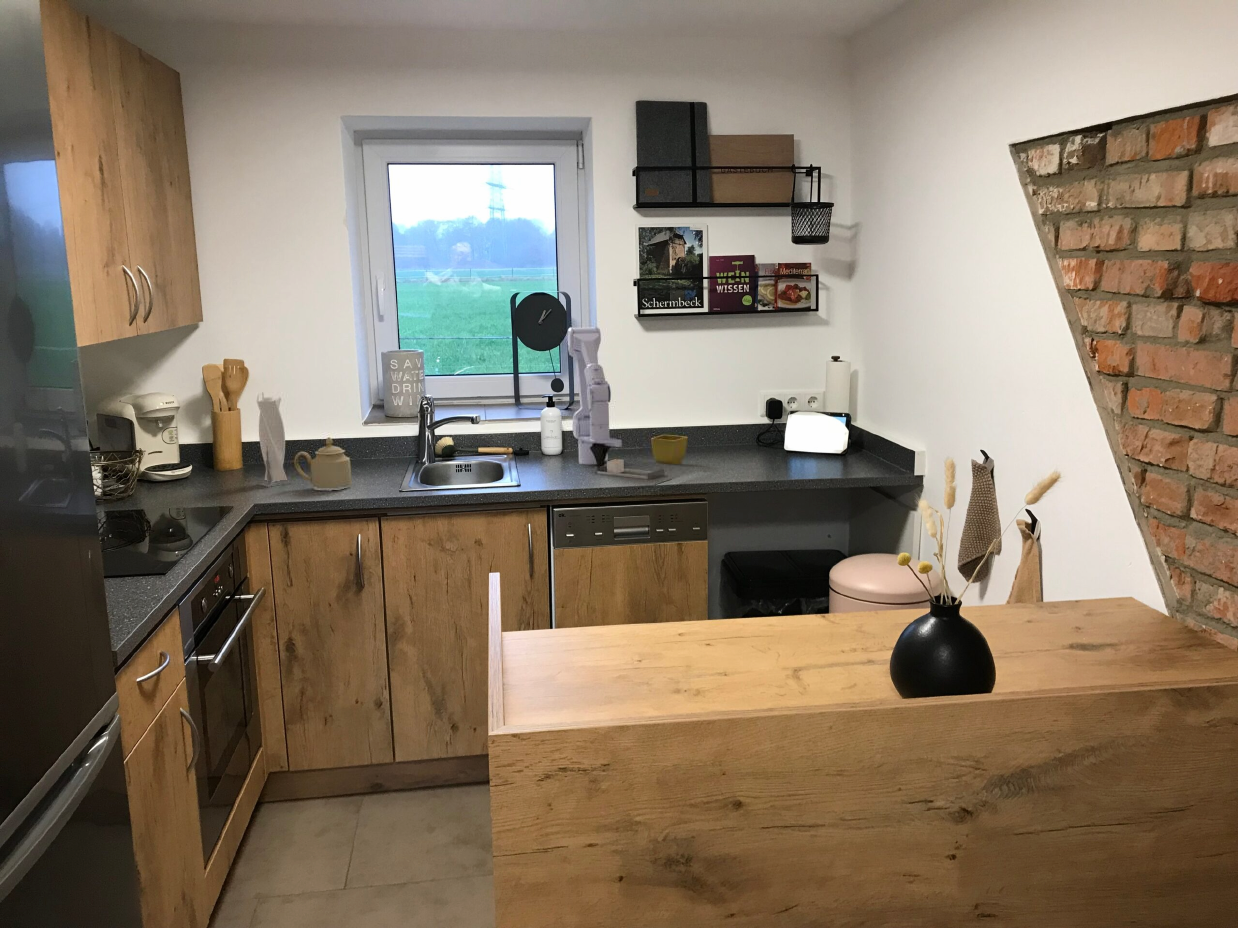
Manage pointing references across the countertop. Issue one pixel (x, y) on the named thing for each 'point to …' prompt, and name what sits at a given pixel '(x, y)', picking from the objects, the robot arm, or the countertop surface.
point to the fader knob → (615, 466)
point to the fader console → (650, 474)
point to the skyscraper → (272, 438)
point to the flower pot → (669, 448)
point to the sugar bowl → (327, 467)
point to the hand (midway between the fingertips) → (600, 468)
